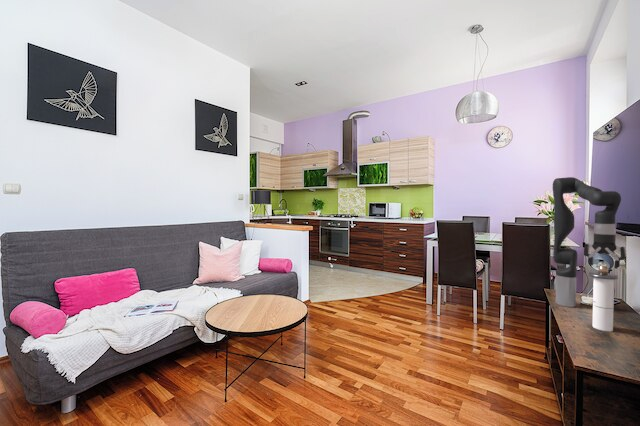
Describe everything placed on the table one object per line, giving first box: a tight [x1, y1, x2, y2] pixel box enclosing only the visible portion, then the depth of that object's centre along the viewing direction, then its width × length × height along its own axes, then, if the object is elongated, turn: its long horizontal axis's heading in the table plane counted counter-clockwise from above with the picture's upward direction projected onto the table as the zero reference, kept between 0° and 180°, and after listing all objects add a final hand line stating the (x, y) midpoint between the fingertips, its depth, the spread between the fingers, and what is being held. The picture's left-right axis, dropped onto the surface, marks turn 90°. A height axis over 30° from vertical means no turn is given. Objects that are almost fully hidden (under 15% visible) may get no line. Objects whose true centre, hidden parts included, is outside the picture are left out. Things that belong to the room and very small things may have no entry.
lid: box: [588, 265, 619, 281], centre depth 140 cm, size 10×10×5 cm
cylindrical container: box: [591, 277, 615, 332], centre depth 141 cm, size 7×7×25 cm
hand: (603, 266), depth 140 cm, fingers open, 8 cm apart
